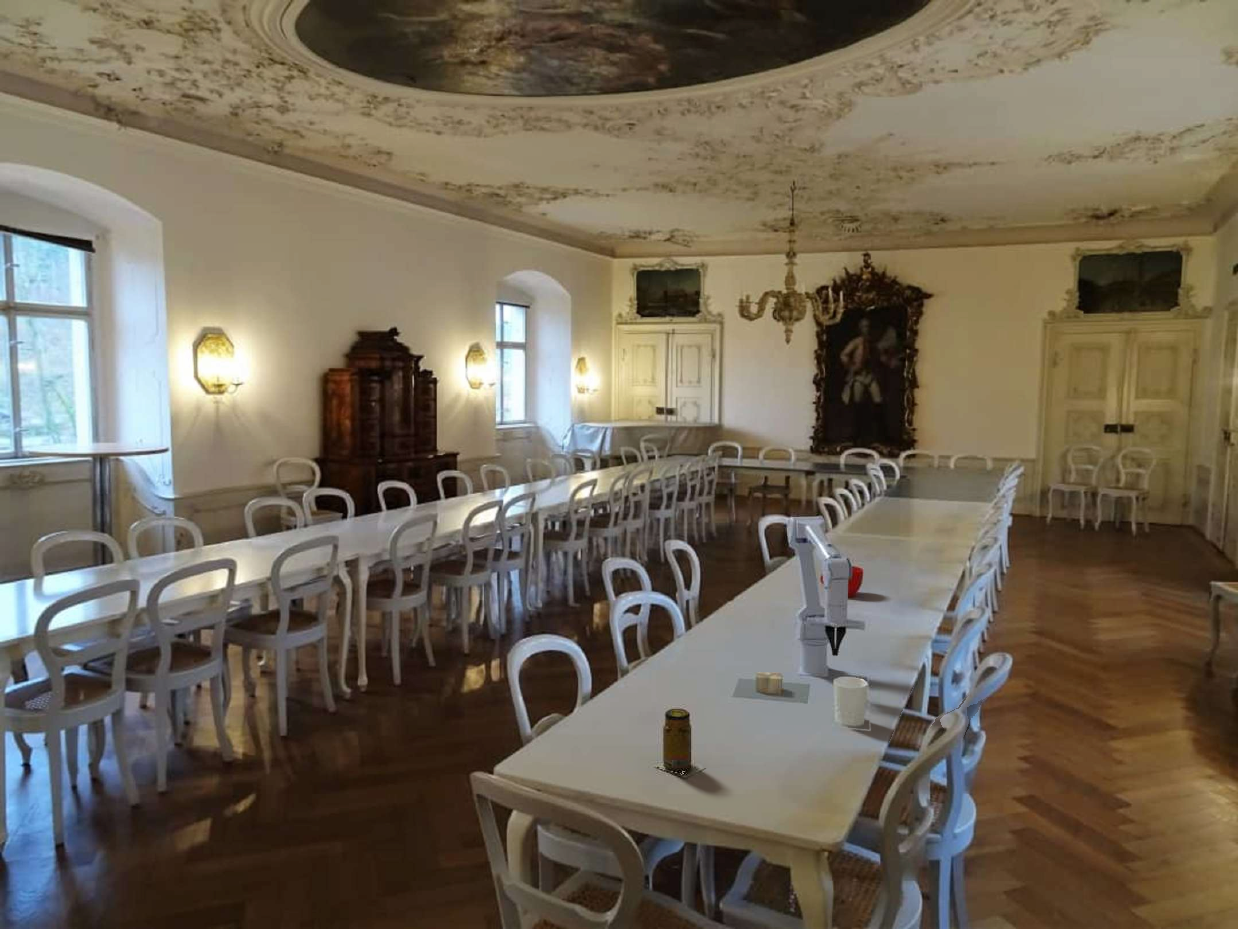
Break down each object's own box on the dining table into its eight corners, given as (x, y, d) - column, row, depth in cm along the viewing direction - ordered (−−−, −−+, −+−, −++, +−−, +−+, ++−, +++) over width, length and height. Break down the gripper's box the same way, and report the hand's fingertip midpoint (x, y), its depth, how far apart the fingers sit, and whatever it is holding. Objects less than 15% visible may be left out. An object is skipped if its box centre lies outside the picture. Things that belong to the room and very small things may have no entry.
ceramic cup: (811, 593, 336) (812, 567, 335) (850, 589, 341) (851, 564, 340) (829, 601, 324) (829, 574, 323) (869, 597, 329) (870, 571, 328)
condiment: (675, 756, 194) (675, 703, 193) (706, 768, 189) (706, 714, 187) (653, 767, 189) (653, 713, 188) (684, 779, 183) (684, 724, 182)
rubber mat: (739, 679, 242) (739, 678, 242) (809, 685, 237) (809, 684, 237) (732, 698, 229) (732, 696, 229) (807, 704, 224) (807, 703, 224)
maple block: (782, 688, 234) (757, 686, 236) (782, 673, 234) (757, 671, 235) (780, 693, 230) (755, 691, 232) (780, 679, 230) (755, 676, 232)
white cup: (843, 730, 208) (844, 689, 207) (826, 718, 215) (827, 678, 214) (873, 726, 210) (874, 686, 209) (855, 714, 217) (856, 675, 216)
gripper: (806, 605, 227) (805, 657, 229) (865, 609, 224) (864, 661, 225) (808, 599, 234) (807, 648, 236) (864, 602, 230) (863, 653, 232)
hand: (835, 654), depth 231 cm, fingers closed
